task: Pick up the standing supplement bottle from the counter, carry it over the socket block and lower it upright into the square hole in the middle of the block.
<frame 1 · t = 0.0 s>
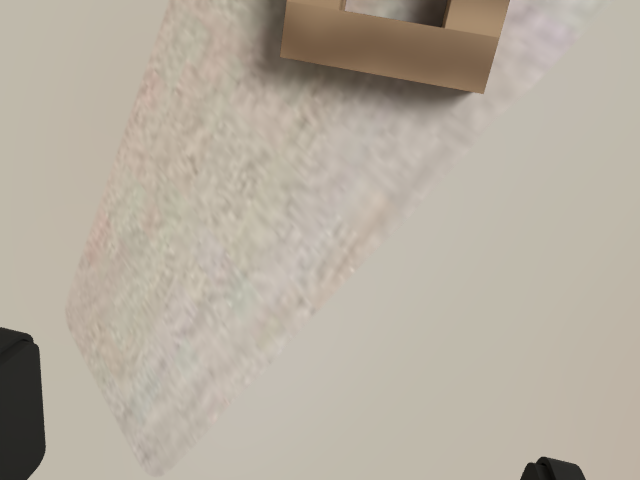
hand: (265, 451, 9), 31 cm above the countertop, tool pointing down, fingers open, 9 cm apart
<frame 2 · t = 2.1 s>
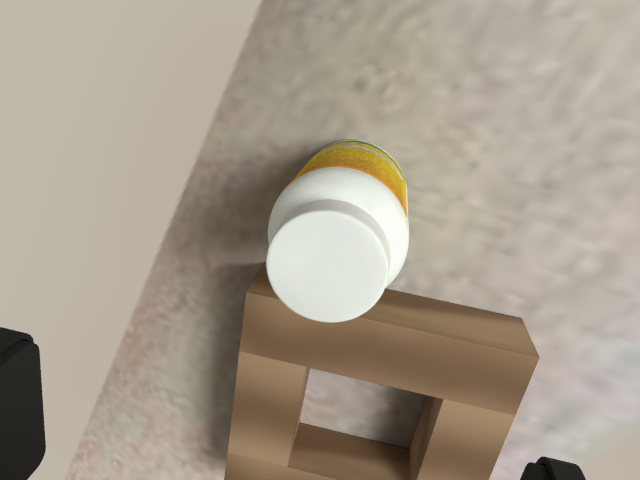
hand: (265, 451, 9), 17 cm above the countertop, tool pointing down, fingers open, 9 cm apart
supplement bottle: (353, 189, 24), on the countertop
socket block: (364, 391, 29), on the countertop
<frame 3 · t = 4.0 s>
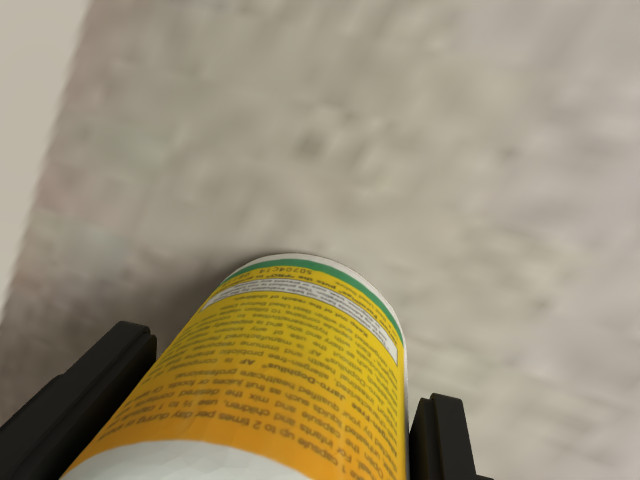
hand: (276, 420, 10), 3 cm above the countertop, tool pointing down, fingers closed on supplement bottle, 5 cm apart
supplement bottle: (304, 336, 13), on the countertop, touching gripper
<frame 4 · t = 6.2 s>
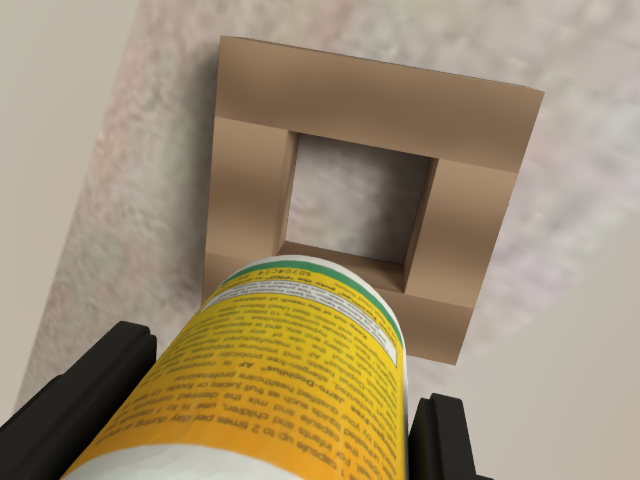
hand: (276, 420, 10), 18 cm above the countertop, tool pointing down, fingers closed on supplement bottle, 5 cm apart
supplement bottle: (303, 337, 13), point 15 cm above the countertop, touching gripper
socket block: (354, 195, 26), on the countertop
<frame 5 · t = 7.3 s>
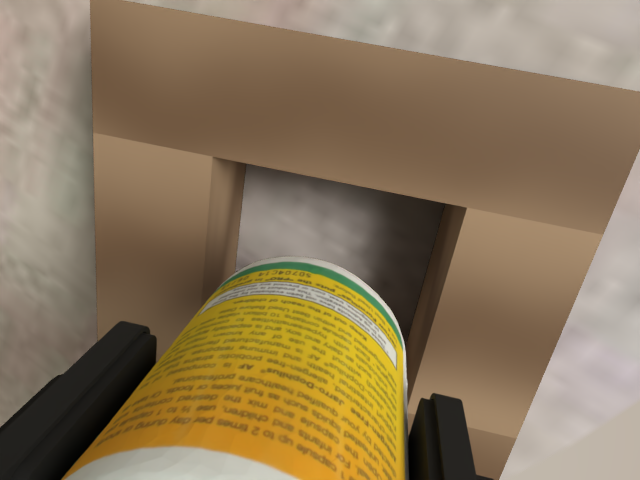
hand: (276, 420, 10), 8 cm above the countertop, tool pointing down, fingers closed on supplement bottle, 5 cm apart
supplement bottle: (303, 339, 13), point 5 cm above the countertop, touching gripper
socket block: (331, 249, 17), on the countertop
when the fingers open (4 cm above the countertop, at t = 8.4 s): supplement bottle drops 1 cm, resting in socket block.
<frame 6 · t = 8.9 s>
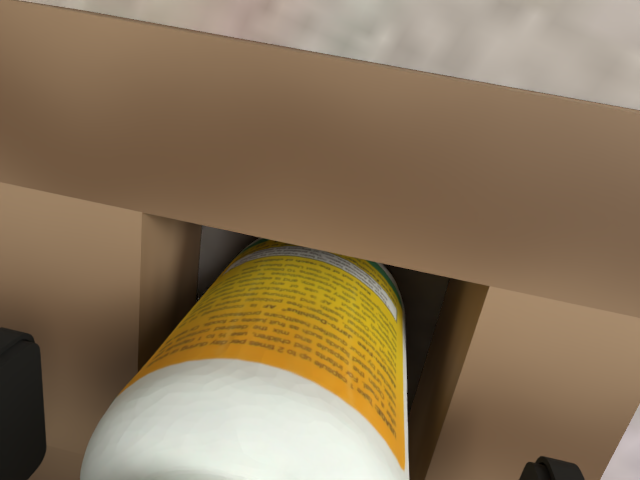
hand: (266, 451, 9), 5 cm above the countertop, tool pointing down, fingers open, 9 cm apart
supplement bottle: (312, 304, 14), resting in socket block
socket block: (311, 313, 14), on the countertop
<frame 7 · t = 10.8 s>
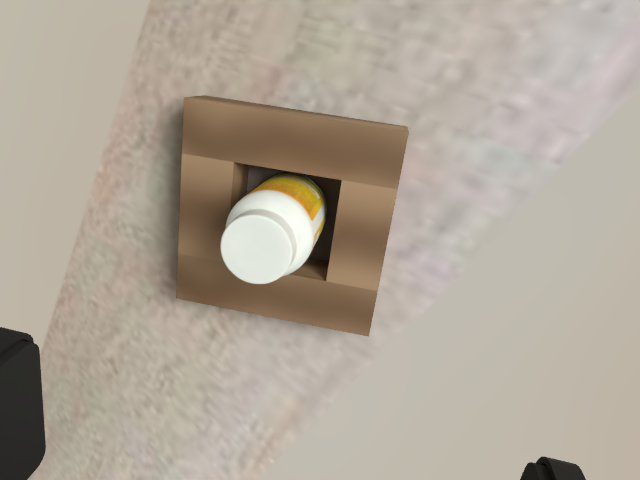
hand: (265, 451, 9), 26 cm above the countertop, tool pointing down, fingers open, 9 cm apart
supplement bottle: (292, 206, 35), resting in socket block
socket block: (292, 209, 35), on the countertop
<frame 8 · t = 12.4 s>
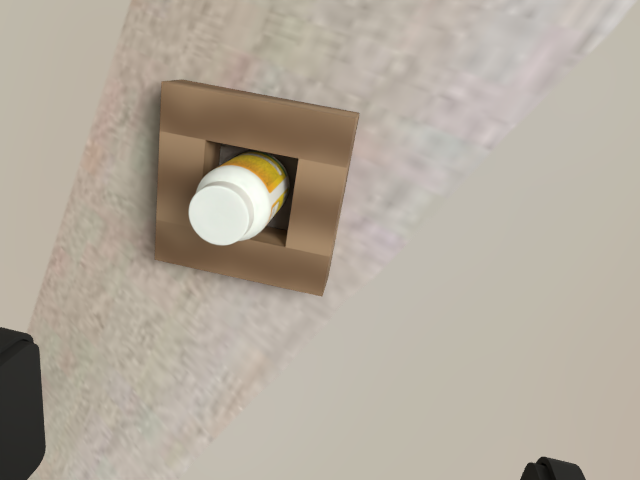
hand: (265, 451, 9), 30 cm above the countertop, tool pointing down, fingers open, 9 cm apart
supplement bottle: (259, 181, 39), resting in socket block
socket block: (258, 183, 39), on the countertop
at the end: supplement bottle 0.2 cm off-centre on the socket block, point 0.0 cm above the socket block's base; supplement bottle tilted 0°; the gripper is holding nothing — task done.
